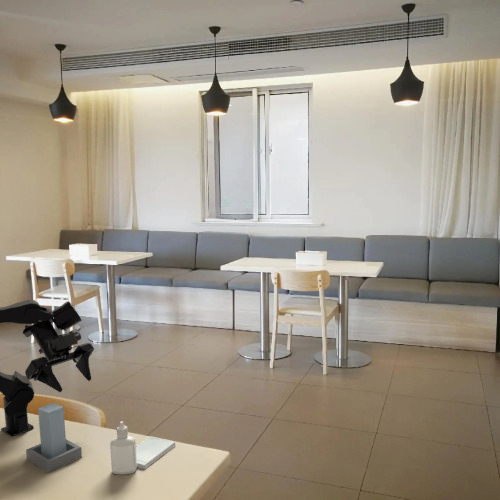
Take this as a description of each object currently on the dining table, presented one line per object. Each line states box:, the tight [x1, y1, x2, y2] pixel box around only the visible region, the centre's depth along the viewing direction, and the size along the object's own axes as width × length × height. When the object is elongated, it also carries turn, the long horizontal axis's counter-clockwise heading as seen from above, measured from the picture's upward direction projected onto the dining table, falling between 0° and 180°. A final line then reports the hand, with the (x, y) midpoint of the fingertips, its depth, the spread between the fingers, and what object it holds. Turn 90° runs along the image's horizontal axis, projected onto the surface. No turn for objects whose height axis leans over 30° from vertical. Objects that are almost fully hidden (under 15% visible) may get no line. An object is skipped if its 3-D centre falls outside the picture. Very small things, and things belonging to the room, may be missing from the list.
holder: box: [25, 438, 83, 473], centre depth 129 cm, size 10×9×2 cm
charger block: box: [37, 402, 67, 459], centre depth 128 cm, size 4×4×13 cm
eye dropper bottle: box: [109, 420, 138, 475], centre depth 121 cm, size 4×6×12 cm
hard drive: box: [136, 436, 176, 470], centre depth 130 cm, size 2×8×12 cm
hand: (76, 385), depth 140 cm, fingers open, 9 cm apart
